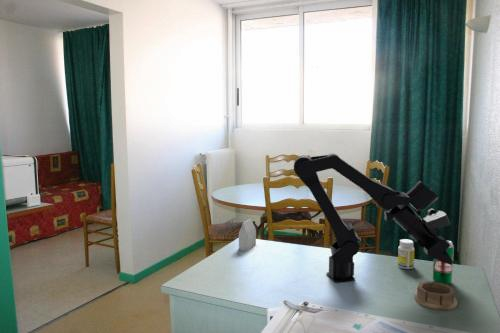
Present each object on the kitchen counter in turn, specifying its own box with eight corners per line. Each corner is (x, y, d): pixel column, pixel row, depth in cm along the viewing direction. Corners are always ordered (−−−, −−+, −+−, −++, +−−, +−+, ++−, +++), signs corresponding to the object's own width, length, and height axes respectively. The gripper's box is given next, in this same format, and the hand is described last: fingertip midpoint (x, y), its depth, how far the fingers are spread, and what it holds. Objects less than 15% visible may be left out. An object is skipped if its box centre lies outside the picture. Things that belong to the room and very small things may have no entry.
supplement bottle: (411, 264, 131) (412, 238, 130) (415, 269, 126) (416, 243, 125) (395, 263, 131) (397, 238, 130) (399, 269, 126) (401, 243, 125)
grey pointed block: (255, 245, 150) (255, 218, 149) (247, 250, 144) (247, 223, 143) (247, 243, 152) (246, 217, 151) (238, 249, 146) (238, 222, 145)
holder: (431, 312, 99) (432, 299, 98) (406, 294, 108) (407, 282, 108) (466, 307, 101) (467, 294, 101) (438, 290, 111) (439, 278, 110)
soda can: (432, 283, 115) (435, 243, 114) (432, 277, 120) (434, 238, 118) (452, 286, 113) (455, 245, 112) (450, 279, 118) (453, 240, 117)
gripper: (443, 210, 105) (485, 252, 105) (421, 195, 123) (457, 231, 124) (411, 238, 107) (452, 280, 107) (394, 220, 125) (429, 255, 125)
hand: (448, 260), depth 116 cm, fingers closed on soda can, 5 cm apart
